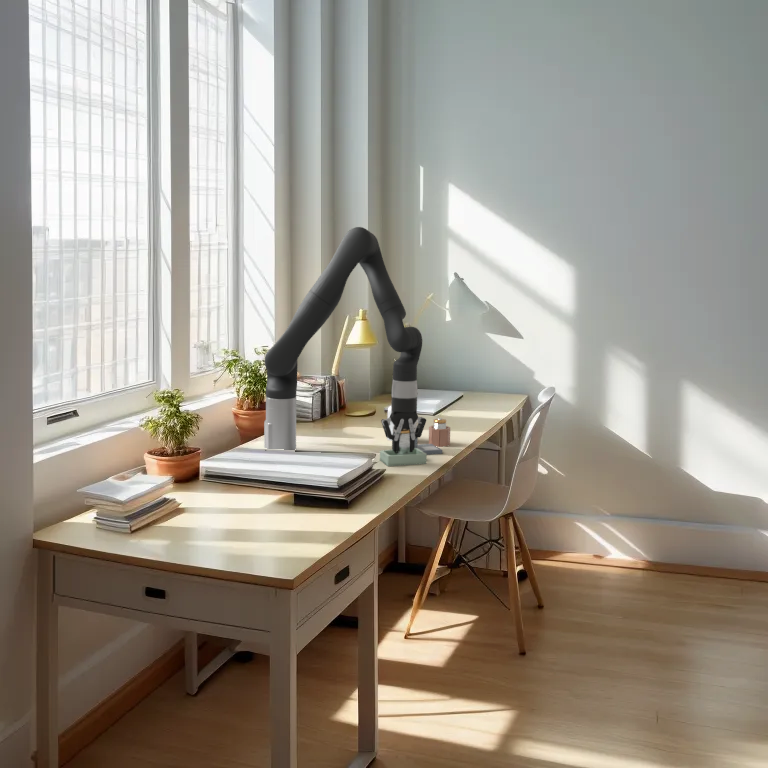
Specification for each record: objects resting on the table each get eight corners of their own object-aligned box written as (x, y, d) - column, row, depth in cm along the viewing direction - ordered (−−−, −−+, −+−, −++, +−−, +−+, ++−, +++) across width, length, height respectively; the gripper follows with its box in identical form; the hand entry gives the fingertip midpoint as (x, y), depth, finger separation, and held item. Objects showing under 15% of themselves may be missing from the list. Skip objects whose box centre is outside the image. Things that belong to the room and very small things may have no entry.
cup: (433, 448, 281) (434, 429, 280) (426, 443, 287) (426, 425, 286) (452, 447, 283) (452, 428, 282) (444, 442, 289) (445, 424, 288)
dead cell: (435, 446, 283) (436, 419, 281) (431, 443, 286) (431, 417, 285) (447, 445, 284) (448, 419, 283) (442, 442, 288) (443, 417, 286)
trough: (388, 466, 257) (388, 456, 257) (379, 460, 264) (379, 450, 264) (426, 463, 261) (426, 453, 261) (417, 457, 268) (417, 448, 268)
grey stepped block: (402, 457, 268) (403, 438, 268) (392, 450, 277) (393, 431, 276) (442, 454, 273) (442, 435, 272) (431, 448, 281) (431, 429, 280)
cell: (394, 454, 264) (395, 427, 262) (407, 454, 265) (407, 426, 264) (399, 458, 260) (399, 429, 259) (411, 457, 261) (412, 429, 260)
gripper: (422, 392, 265) (420, 448, 268) (377, 393, 261) (376, 450, 263) (431, 396, 258) (430, 453, 261) (385, 398, 254) (384, 456, 256)
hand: (403, 451), depth 262 cm, fingers closed on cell, 4 cm apart
